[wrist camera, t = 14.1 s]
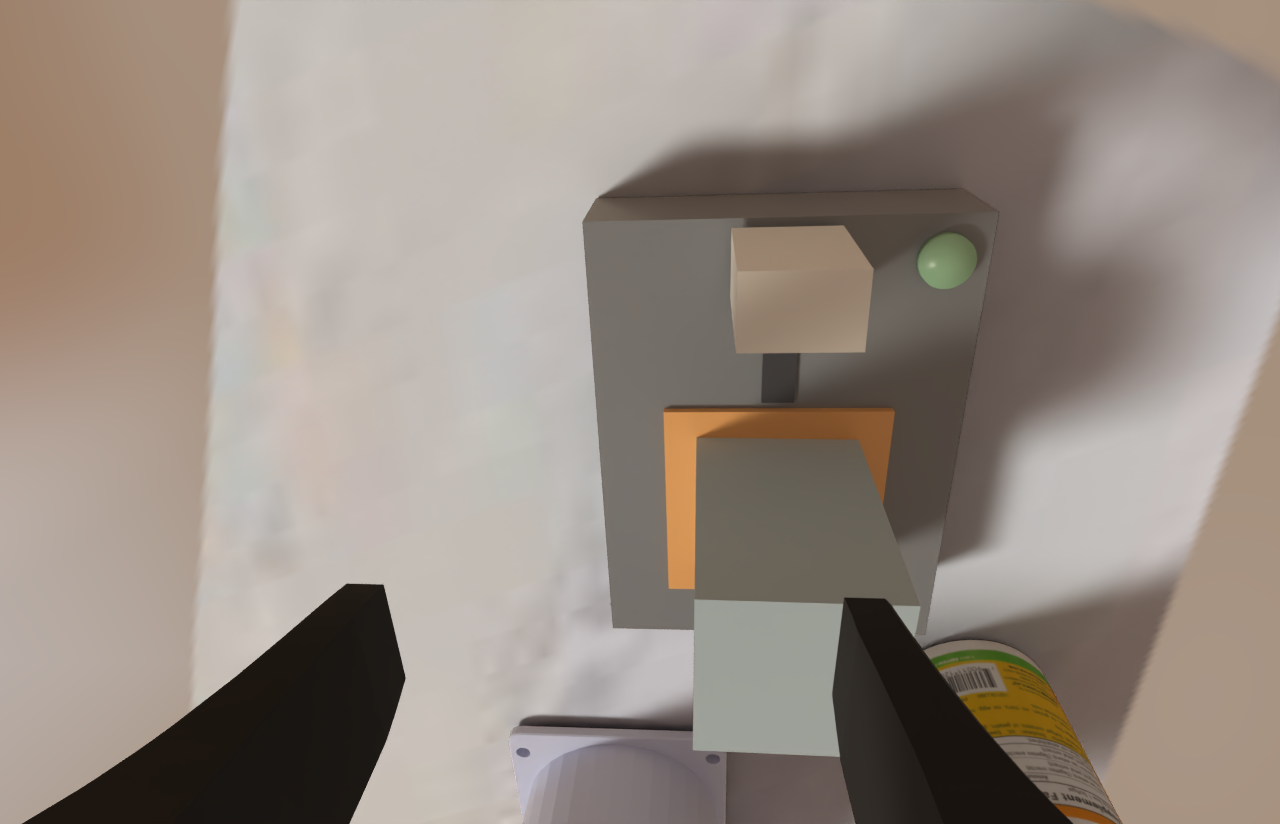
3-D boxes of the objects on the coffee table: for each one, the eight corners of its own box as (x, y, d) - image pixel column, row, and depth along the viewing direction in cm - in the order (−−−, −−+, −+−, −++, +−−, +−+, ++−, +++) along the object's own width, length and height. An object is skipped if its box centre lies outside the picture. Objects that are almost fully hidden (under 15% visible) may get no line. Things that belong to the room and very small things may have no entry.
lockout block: (842, 568, 21) (891, 759, 15) (695, 563, 21) (693, 750, 16) (858, 439, 19) (920, 606, 13) (696, 437, 19) (694, 599, 14)
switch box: (904, 577, 24) (928, 642, 21) (620, 573, 25) (611, 635, 22) (963, 188, 18) (1004, 215, 16) (596, 198, 19) (580, 224, 17)
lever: (837, 296, 17) (864, 352, 14) (730, 298, 17) (735, 353, 14) (843, 225, 16) (873, 268, 13) (731, 228, 16) (737, 271, 14)
